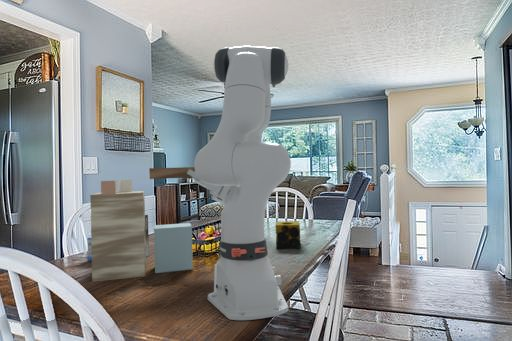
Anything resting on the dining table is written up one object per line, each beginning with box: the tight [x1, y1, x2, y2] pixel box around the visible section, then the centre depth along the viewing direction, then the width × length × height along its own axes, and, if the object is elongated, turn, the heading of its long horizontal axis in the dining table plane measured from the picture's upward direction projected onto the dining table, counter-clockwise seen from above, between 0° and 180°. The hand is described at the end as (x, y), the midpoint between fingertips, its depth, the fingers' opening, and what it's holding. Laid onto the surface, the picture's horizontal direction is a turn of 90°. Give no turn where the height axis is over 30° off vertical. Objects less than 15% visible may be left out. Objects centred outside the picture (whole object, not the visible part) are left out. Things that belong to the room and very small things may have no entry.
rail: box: [148, 166, 195, 180], centre depth 117 cm, size 3×19×4 cm, turn 106°
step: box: [153, 222, 194, 274], centre depth 116 cm, size 8×12×14 cm, turn 106°
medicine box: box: [87, 236, 92, 262], centre depth 130 cm, size 8×4×9 cm, turn 62°
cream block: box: [117, 179, 133, 192], centre depth 116 cm, size 4×4×4 cm
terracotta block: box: [100, 180, 118, 194], centre depth 107 cm, size 4×4×4 cm
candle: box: [275, 220, 301, 250], centre depth 146 cm, size 10×10×10 cm
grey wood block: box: [89, 190, 147, 283], centre depth 112 cm, size 13×15×26 cm
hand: (187, 171), depth 118 cm, fingers closed on rail, 3 cm apart
